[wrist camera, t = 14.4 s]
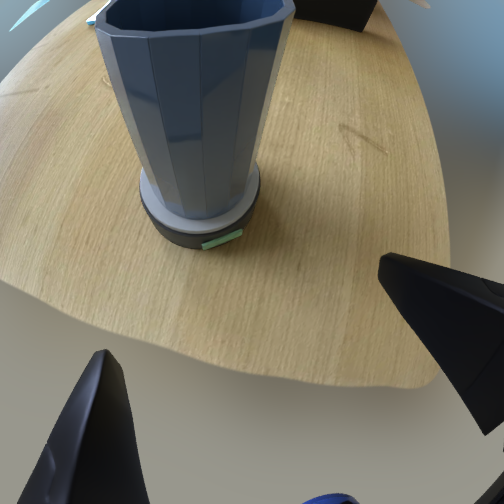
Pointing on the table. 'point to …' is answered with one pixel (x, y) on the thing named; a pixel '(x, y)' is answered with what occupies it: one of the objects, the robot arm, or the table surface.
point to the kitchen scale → (200, 231)
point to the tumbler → (195, 91)
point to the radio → (336, 12)
